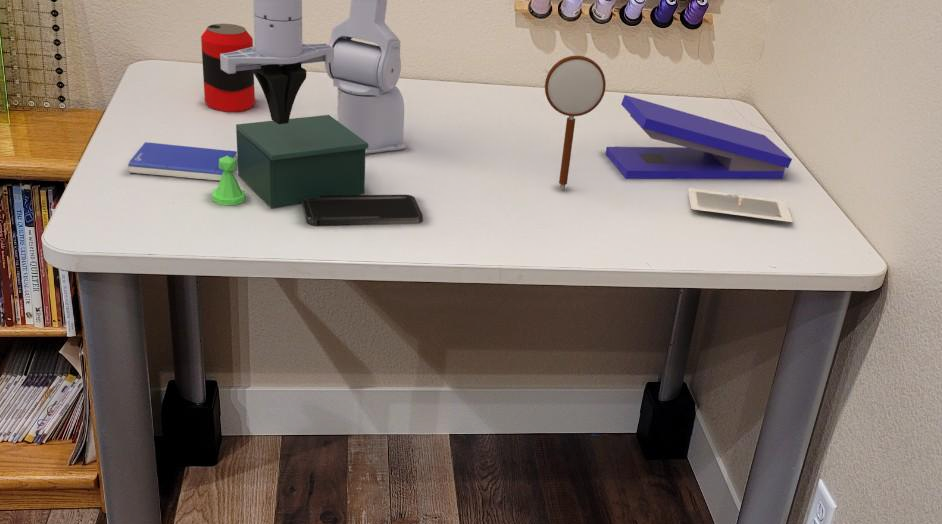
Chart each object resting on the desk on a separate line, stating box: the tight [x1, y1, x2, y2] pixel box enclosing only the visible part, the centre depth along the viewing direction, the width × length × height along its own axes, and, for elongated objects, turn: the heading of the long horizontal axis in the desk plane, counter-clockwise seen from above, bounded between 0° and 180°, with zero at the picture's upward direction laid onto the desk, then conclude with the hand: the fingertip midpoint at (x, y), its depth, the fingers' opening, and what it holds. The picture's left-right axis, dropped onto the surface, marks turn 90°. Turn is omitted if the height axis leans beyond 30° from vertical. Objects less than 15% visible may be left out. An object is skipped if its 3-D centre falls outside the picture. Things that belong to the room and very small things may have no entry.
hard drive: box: [127, 141, 238, 182], centre depth 144 cm, size 2×8×12 cm
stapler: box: [605, 94, 793, 180], centre depth 167 cm, size 12×28×10 cm, turn 107°
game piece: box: [211, 156, 246, 206], centre depth 136 cm, size 4×4×6 cm
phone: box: [301, 194, 424, 227], centre depth 139 cm, size 8×1×15 cm
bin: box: [235, 129, 366, 209], centre depth 142 cm, size 11×13×7 cm
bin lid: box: [235, 114, 368, 160], centre depth 140 cm, size 12×13×1 cm
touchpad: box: [687, 187, 793, 223], centre depth 155 cm, size 8×15×2 cm, turn 88°
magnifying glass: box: [544, 55, 607, 191], centre depth 149 cm, size 9×2×20 cm, turn 100°
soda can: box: [200, 23, 256, 113], centre depth 164 cm, size 8×8×12 cm
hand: (279, 121), depth 135 cm, fingers closed
